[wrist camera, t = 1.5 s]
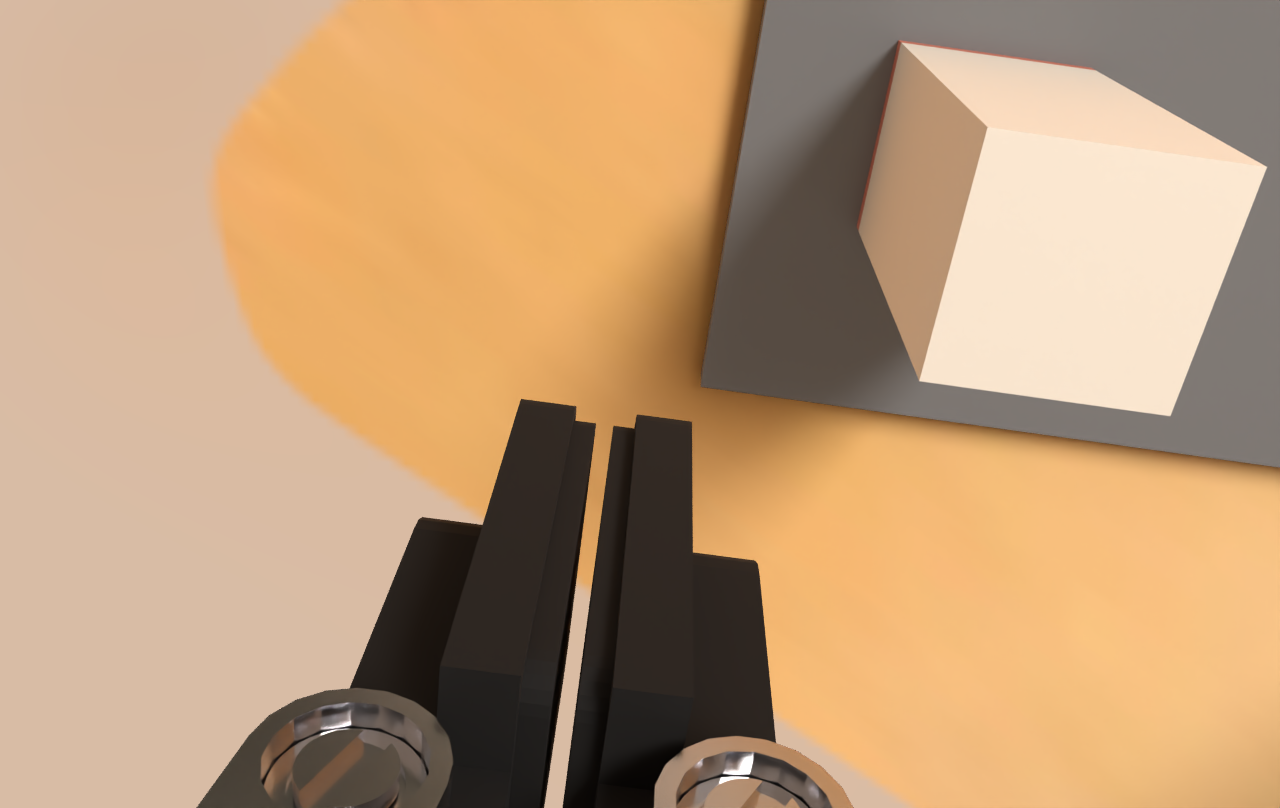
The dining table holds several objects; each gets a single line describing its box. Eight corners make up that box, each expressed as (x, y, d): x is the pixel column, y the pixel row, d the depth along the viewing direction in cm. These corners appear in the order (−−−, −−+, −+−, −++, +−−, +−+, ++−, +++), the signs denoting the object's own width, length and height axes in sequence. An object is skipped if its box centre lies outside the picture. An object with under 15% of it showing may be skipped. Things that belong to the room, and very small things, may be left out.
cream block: (1091, 67, 29) (1267, 167, 20) (1035, 251, 31) (1169, 416, 22) (898, 40, 29) (987, 127, 20) (856, 226, 31) (919, 381, 22)
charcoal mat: (1618, -103, 27) (1643, -102, 26) (1346, 465, 34) (1360, 478, 33) (802, -222, 27) (805, -224, 26) (700, 375, 34) (700, 386, 33)
